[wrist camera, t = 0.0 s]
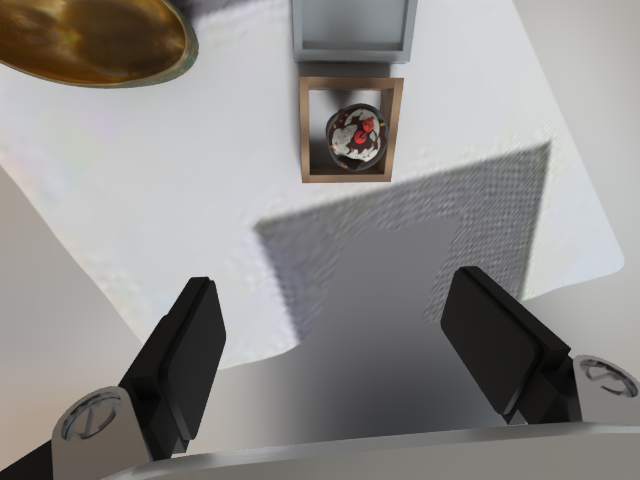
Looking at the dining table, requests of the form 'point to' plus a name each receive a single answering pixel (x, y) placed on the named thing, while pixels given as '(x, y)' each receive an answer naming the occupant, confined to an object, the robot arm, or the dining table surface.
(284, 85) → the dining table surface
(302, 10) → the tray
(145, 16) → the green bowl
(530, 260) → the dining table surface
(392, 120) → the holder
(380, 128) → the sundae
